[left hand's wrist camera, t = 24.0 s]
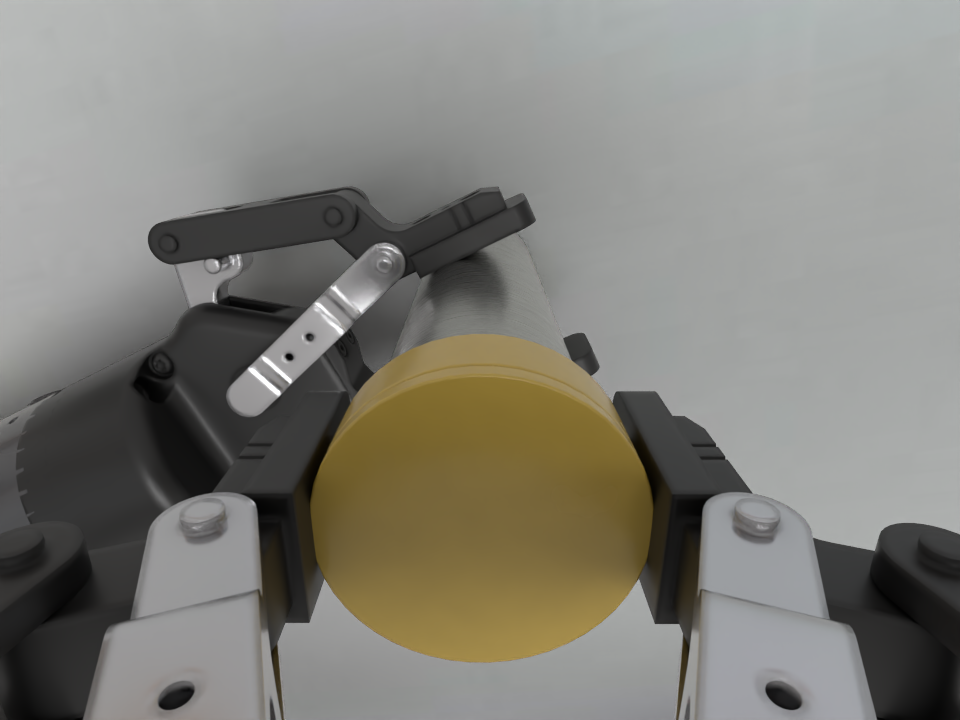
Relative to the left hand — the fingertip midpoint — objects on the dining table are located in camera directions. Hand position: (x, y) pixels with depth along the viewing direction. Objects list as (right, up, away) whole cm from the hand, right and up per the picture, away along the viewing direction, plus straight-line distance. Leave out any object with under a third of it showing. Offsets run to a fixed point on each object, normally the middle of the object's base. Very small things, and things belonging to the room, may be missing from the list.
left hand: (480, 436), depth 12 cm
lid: (0, -1, -2) cm, 3 cm away
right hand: (+2, +4, +7) cm, 8 cm away
